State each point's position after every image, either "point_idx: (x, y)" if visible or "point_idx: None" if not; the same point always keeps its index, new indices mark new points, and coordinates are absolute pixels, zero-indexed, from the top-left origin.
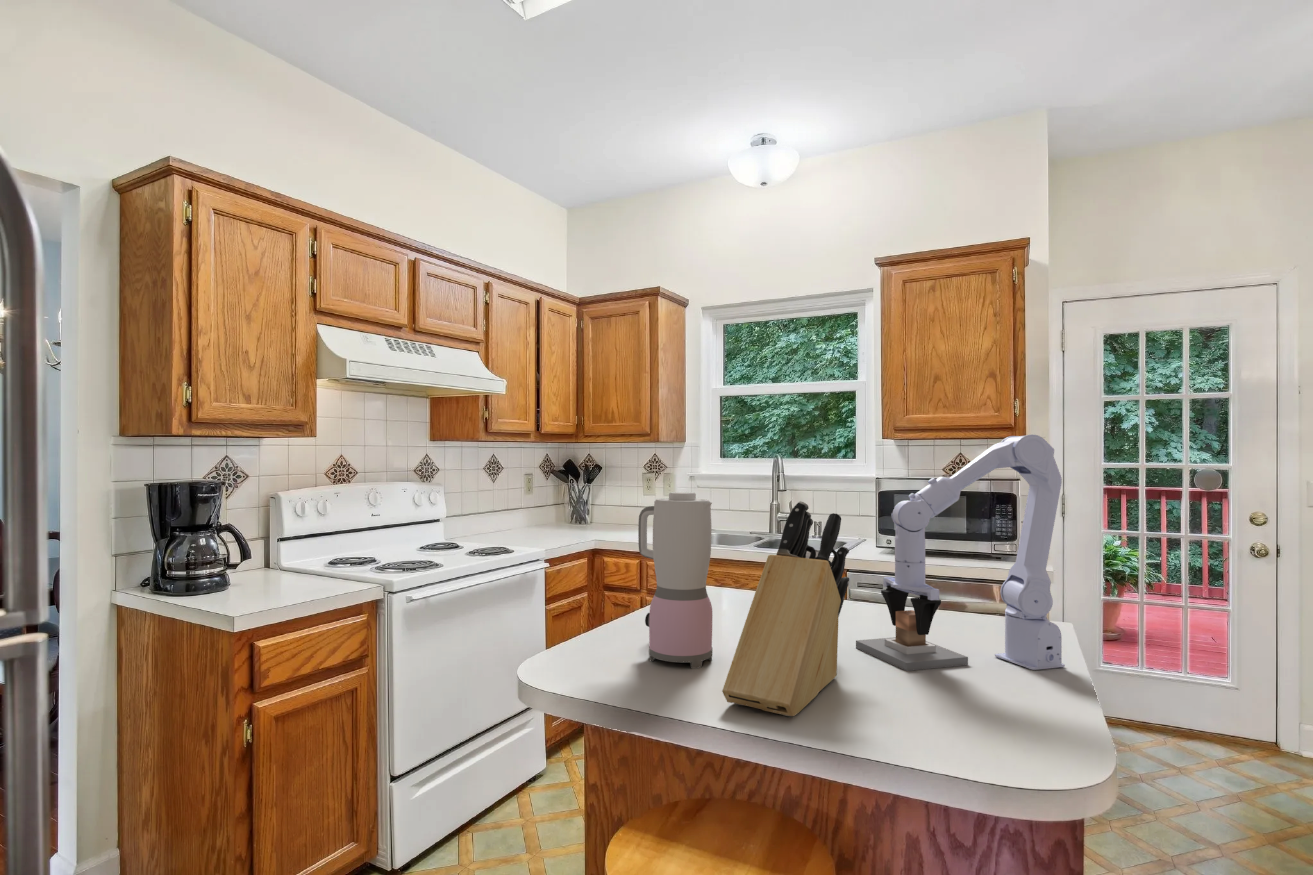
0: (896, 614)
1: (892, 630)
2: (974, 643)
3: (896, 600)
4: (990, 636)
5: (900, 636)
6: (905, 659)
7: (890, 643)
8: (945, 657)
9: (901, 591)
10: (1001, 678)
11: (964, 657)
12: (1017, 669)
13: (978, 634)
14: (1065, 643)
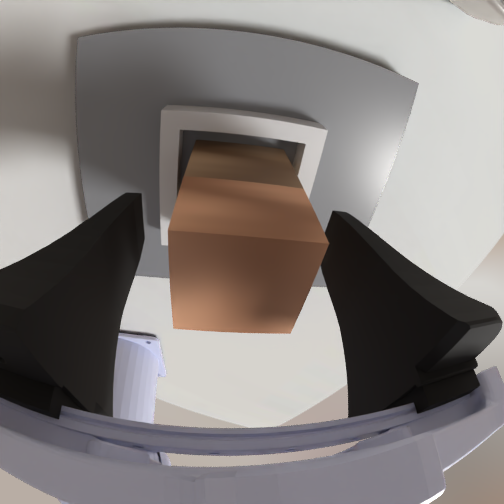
0: (315, 229)
1: None
2: (254, 360)
3: (381, 330)
4: (273, 388)
5: (256, 164)
6: (110, 55)
7: (282, 119)
8: None
9: (378, 404)
10: (20, 247)
11: None
12: None
13: (292, 383)
14: (202, 413)
